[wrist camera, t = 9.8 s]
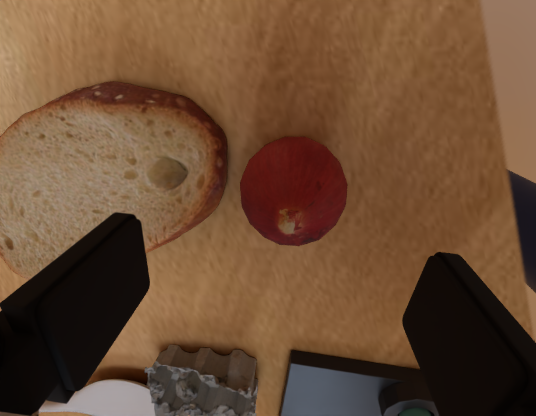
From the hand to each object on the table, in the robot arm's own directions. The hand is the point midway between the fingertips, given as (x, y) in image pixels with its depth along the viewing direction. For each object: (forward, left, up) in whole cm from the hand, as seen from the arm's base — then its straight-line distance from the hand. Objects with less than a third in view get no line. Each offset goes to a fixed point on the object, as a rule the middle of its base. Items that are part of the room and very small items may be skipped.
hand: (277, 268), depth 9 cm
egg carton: (+6, +23, -11) cm, 26 cm away
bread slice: (+14, +4, -11) cm, 18 cm away
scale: (-9, +24, -11) cm, 28 cm away
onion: (0, 0, -11) cm, 11 cm away
